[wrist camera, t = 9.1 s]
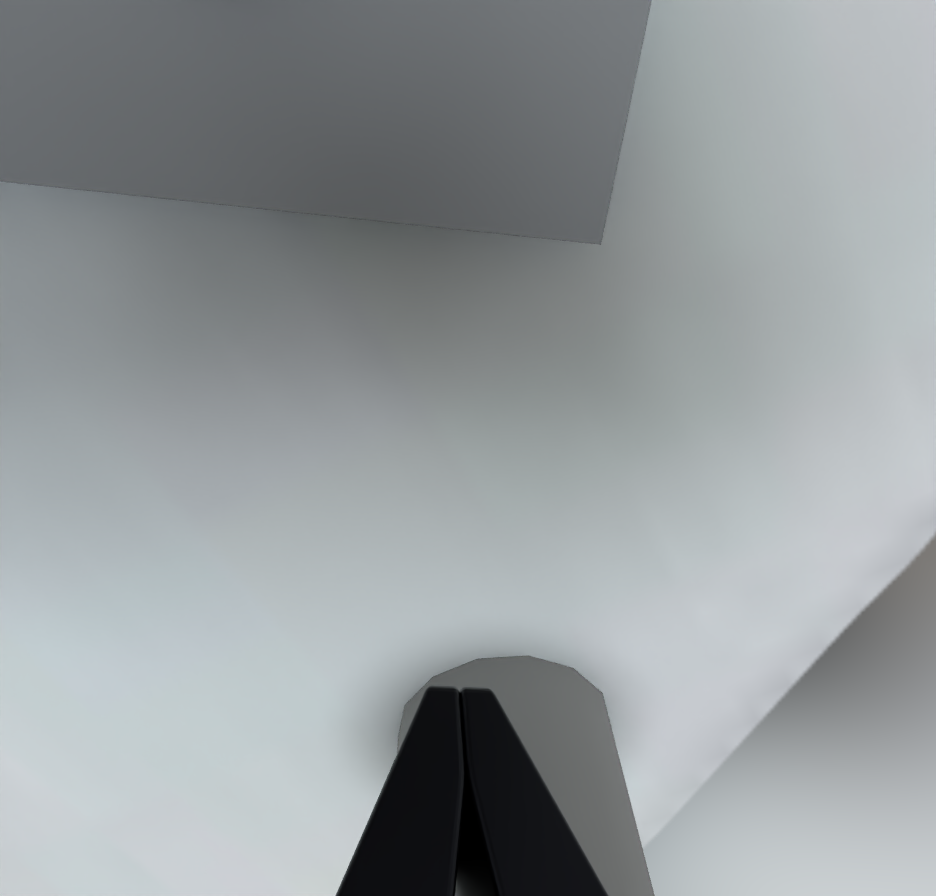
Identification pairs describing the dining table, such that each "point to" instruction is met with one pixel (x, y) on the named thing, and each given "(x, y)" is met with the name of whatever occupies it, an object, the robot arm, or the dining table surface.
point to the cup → (565, 756)
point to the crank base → (329, 106)
